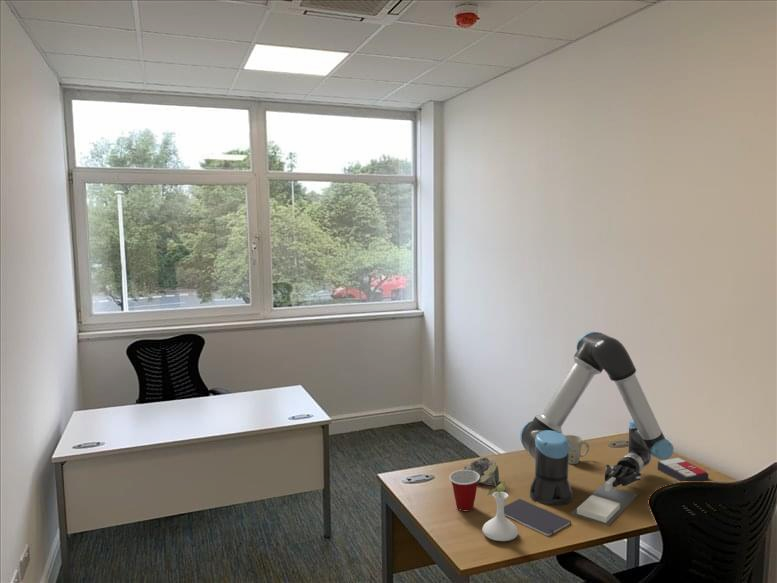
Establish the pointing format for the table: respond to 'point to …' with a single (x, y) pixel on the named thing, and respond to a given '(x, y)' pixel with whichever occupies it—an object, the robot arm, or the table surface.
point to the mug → (575, 448)
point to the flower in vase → (498, 513)
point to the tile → (598, 508)
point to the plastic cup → (464, 488)
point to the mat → (612, 495)
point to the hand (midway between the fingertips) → (607, 487)
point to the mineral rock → (483, 466)
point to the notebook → (535, 517)
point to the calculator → (682, 470)
